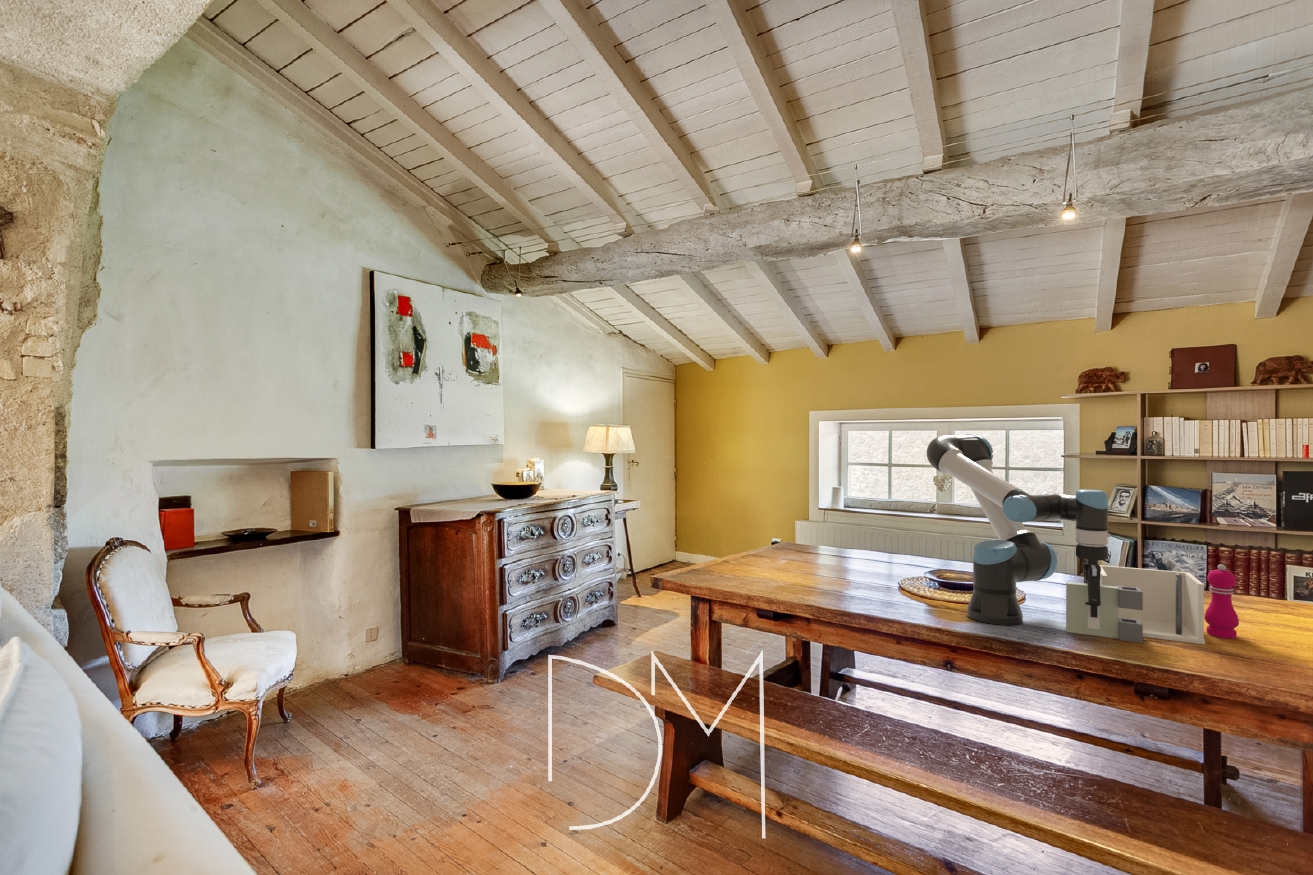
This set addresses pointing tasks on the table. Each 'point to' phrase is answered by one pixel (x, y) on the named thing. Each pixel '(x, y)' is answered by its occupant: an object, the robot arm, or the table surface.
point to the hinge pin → (1179, 604)
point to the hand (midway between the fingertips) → (1091, 623)
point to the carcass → (1161, 601)
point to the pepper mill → (1221, 604)
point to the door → (1105, 611)
